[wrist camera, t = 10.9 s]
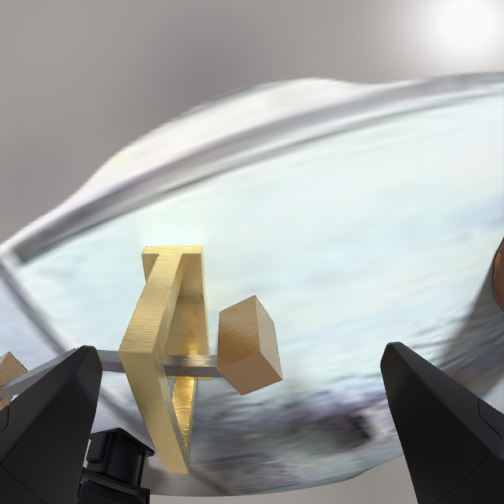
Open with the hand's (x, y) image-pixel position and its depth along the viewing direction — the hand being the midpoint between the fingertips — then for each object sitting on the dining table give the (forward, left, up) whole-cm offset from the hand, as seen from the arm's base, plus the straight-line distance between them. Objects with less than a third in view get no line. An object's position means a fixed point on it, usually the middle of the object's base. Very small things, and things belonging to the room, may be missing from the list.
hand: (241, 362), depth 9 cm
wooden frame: (-5, +8, -13) cm, 16 cm away
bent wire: (-5, +17, -13) cm, 22 cm away
